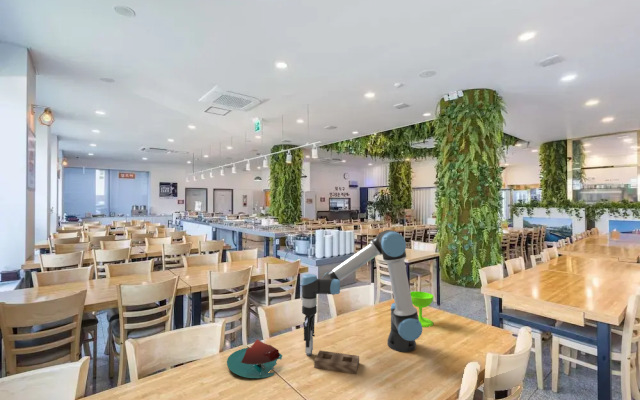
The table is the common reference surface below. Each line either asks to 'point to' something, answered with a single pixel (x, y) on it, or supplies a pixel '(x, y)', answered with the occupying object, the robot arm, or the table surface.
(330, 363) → the socket block
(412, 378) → the table surface
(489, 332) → the table surface
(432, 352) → the table surface
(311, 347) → the peg
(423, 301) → the wineglass
